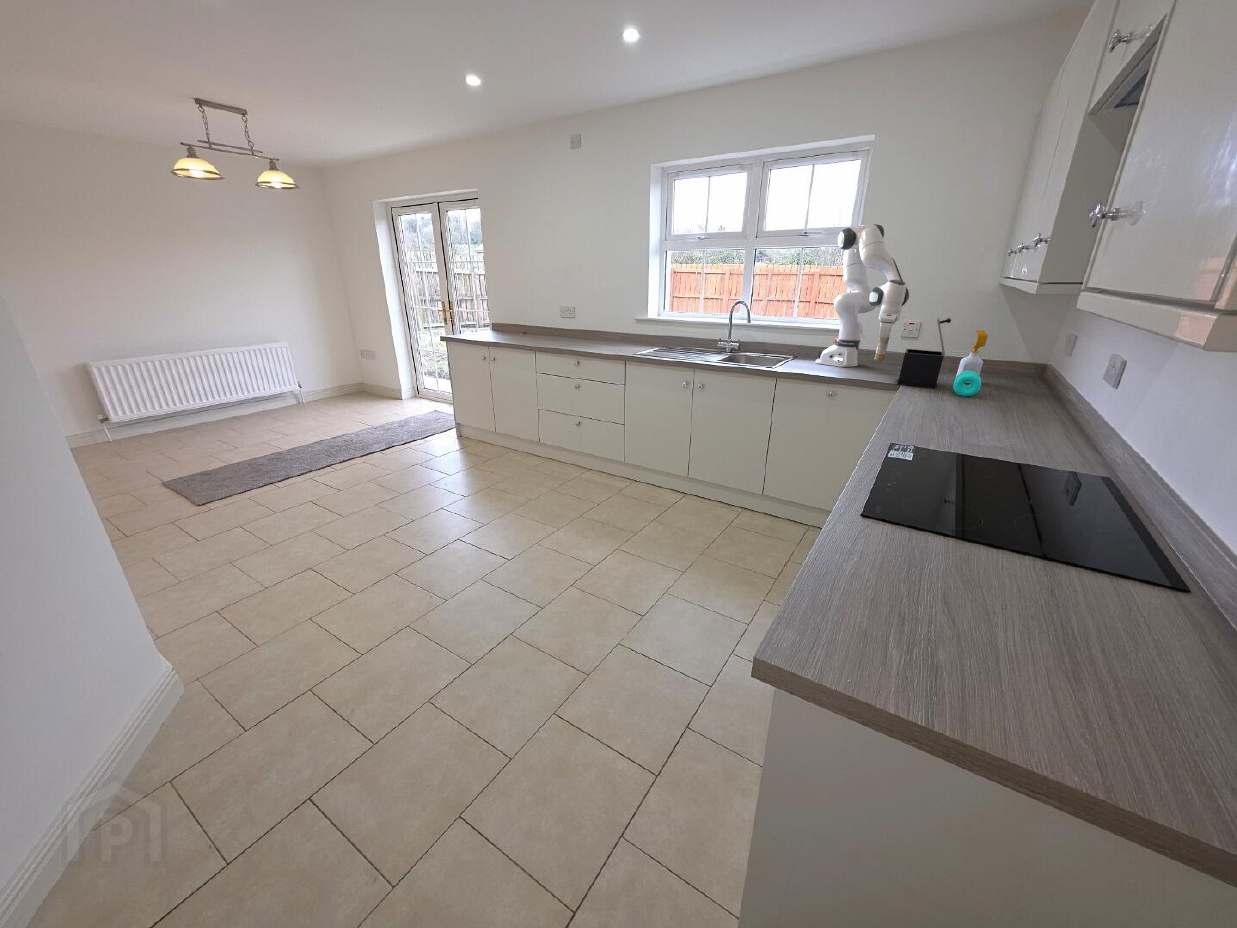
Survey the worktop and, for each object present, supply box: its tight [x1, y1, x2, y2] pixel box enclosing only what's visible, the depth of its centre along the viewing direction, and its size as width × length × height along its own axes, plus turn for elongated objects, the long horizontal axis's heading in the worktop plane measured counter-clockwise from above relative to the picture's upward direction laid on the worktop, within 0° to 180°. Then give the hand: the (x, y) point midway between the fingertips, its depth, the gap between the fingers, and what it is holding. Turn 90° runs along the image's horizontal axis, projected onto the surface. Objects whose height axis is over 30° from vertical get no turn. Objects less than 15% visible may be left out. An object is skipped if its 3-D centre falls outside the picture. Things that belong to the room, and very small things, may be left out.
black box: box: [897, 348, 945, 390], centre depth 232 cm, size 16×13×15 cm
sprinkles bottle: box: [873, 332, 892, 362], centre depth 237 cm, size 5×5×14 cm
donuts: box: [952, 371, 982, 397], centre depth 215 cm, size 10×10×10 cm
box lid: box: [936, 316, 952, 356], centre depth 222 cm, size 16×13×5 cm
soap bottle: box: [955, 329, 989, 384], centre depth 235 cm, size 9×9×25 cm
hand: (882, 345), depth 237 cm, fingers closed on sprinkles bottle, 4 cm apart
